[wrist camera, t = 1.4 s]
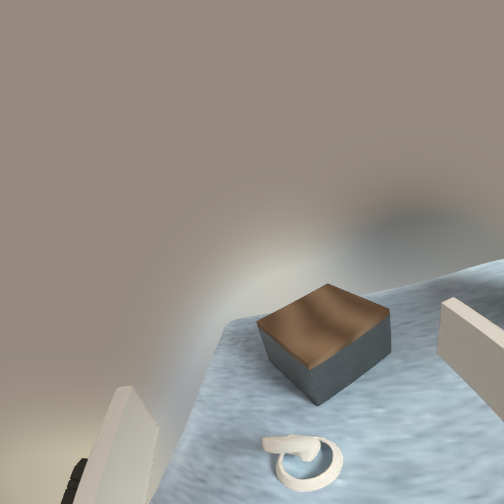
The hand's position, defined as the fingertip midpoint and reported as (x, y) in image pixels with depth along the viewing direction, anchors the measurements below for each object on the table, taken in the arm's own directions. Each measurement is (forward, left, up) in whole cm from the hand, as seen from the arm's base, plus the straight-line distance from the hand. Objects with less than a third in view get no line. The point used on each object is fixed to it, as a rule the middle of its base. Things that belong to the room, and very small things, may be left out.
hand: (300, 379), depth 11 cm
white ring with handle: (-2, -9, -23) cm, 25 cm away
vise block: (-15, -23, -23) cm, 36 cm away
